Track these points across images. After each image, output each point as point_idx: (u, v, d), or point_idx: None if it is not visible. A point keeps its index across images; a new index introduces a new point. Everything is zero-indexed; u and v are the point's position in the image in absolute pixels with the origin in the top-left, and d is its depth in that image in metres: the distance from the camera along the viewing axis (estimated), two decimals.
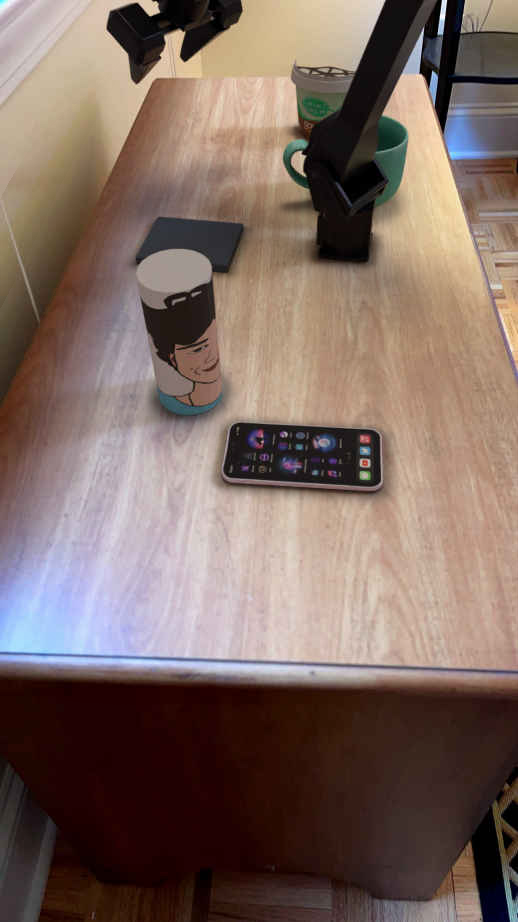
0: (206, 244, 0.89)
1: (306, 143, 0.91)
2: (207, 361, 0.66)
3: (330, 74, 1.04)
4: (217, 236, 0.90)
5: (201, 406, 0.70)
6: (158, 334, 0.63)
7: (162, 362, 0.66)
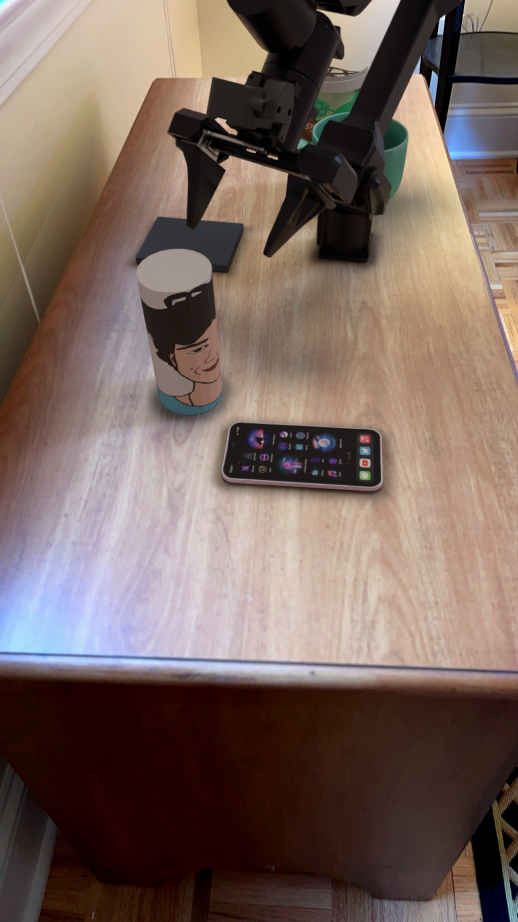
0: (206, 244, 0.89)
1: (306, 143, 0.91)
2: (207, 361, 0.66)
3: (330, 74, 1.04)
4: (217, 236, 0.90)
5: (201, 406, 0.70)
6: (158, 334, 0.63)
7: (162, 362, 0.66)
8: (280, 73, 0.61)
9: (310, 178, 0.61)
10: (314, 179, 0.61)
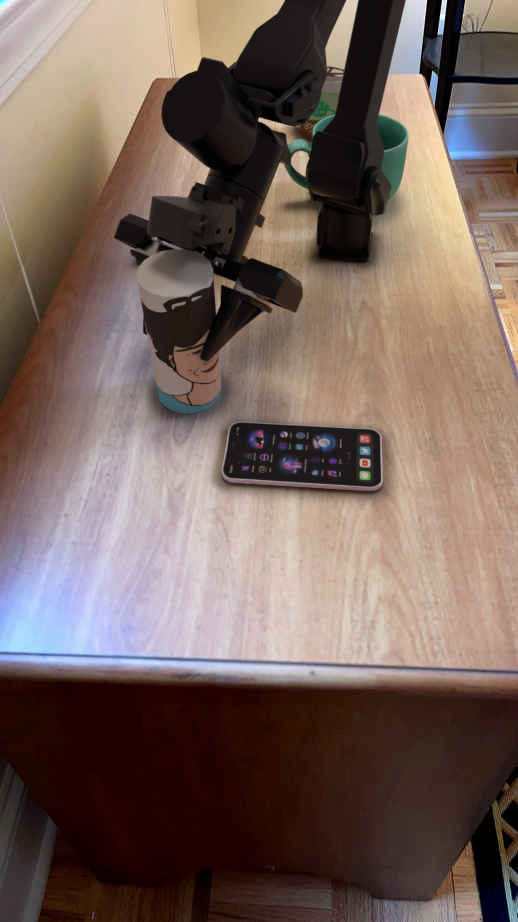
0: None
1: (306, 143, 0.91)
2: (206, 362, 0.66)
3: (330, 74, 1.04)
4: None
5: (199, 405, 0.70)
6: (157, 336, 0.63)
7: (161, 362, 0.66)
8: (223, 186, 0.61)
9: (244, 288, 0.62)
10: None
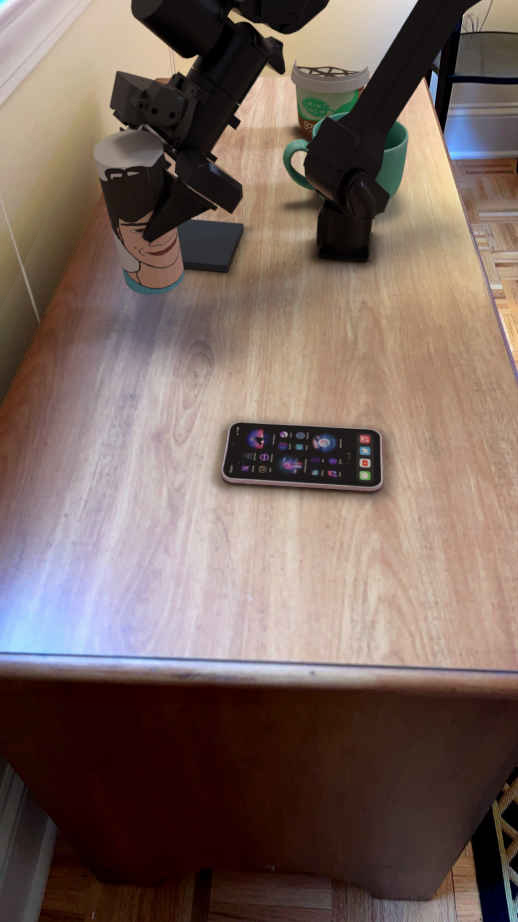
0: (206, 244, 0.89)
1: (306, 143, 0.91)
2: (151, 244, 0.71)
3: (330, 74, 1.04)
4: (217, 236, 0.90)
5: (149, 288, 0.75)
6: (107, 205, 0.69)
7: (114, 234, 0.72)
8: (193, 78, 0.65)
9: None
10: None
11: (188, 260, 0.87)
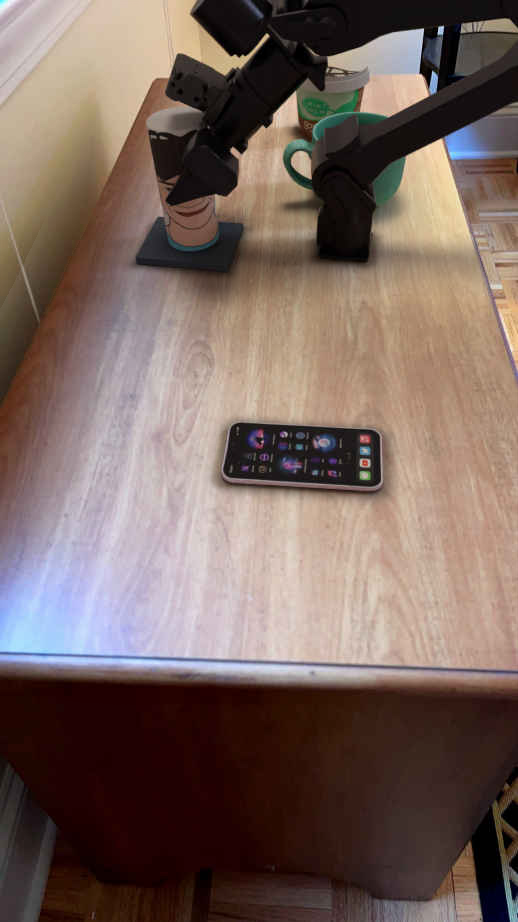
0: None
1: (306, 143, 0.91)
2: None
3: (330, 74, 1.04)
4: None
5: (176, 243, 0.88)
6: None
7: None
8: (238, 74, 0.74)
9: None
10: None
11: (188, 260, 0.87)
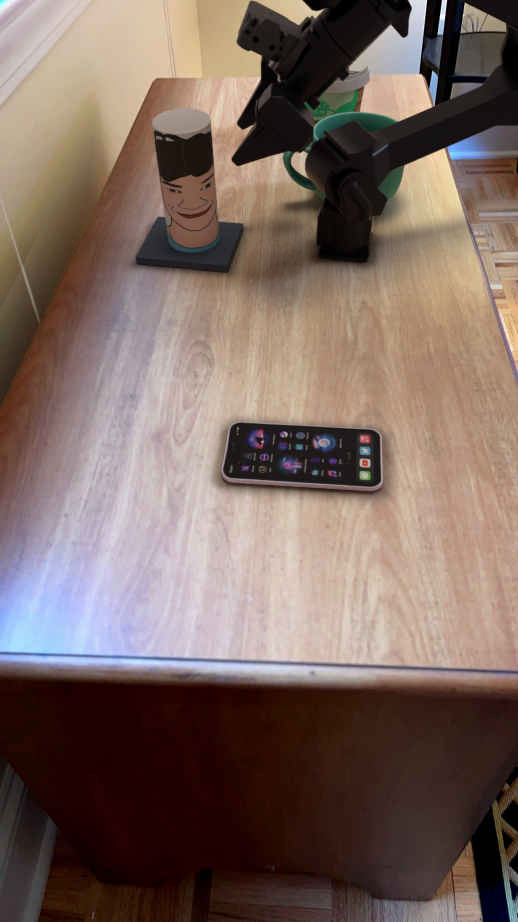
0: None
1: None
2: (180, 206, 0.83)
3: None
4: None
5: (177, 244, 0.88)
6: None
7: None
8: (315, 22, 0.70)
9: None
10: None
11: (188, 260, 0.87)
